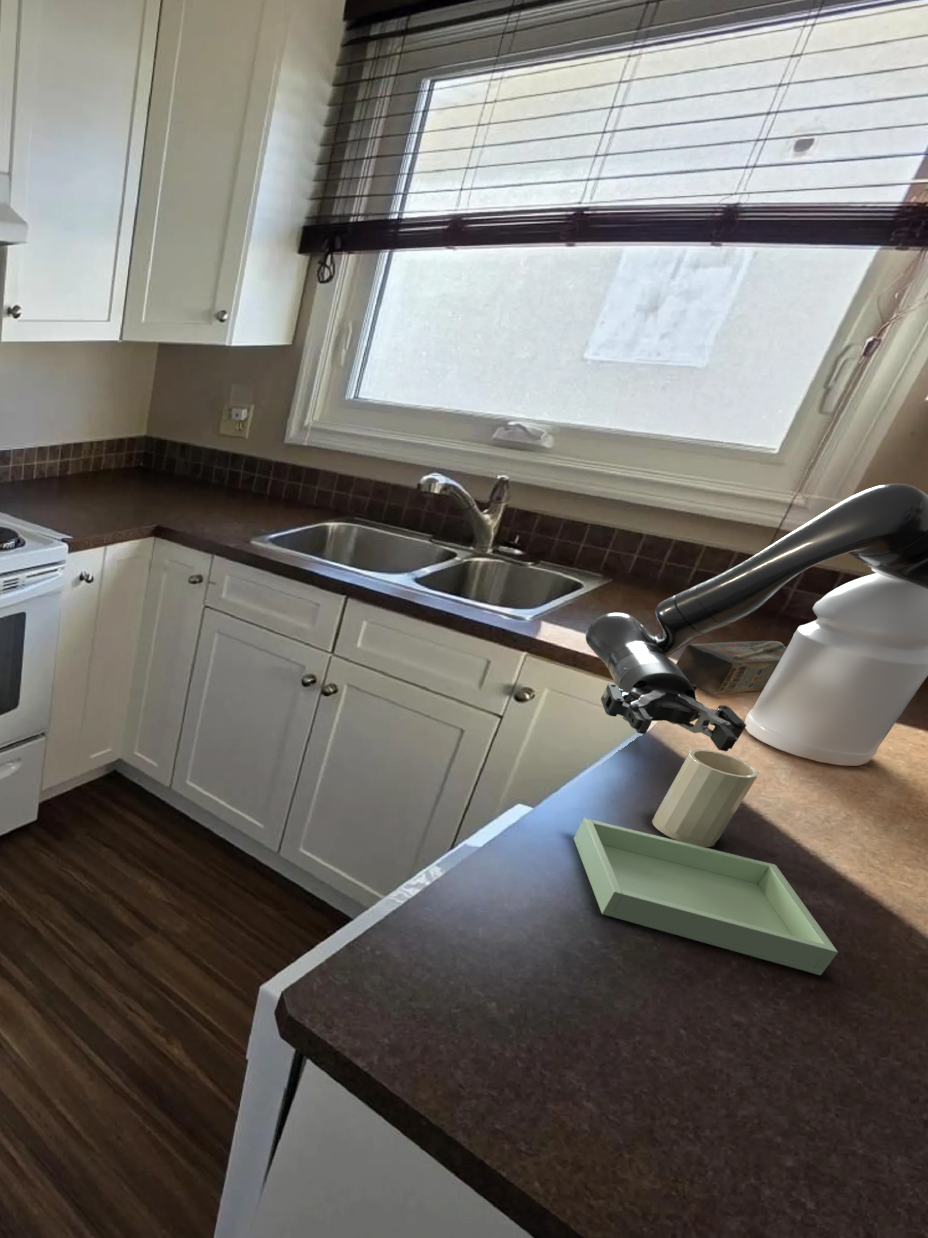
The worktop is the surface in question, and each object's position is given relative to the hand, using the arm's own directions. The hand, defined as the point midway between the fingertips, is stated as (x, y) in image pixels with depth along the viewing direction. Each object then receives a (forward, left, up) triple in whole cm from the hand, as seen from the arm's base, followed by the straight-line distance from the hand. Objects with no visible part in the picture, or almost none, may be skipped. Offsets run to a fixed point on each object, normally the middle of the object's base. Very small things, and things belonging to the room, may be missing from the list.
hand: (685, 736), depth 103 cm
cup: (0, +11, -8) cm, 13 cm away
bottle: (-24, -27, -8) cm, 37 cm away
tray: (+4, +27, -8) cm, 28 cm away
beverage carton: (-22, -49, -8) cm, 55 cm away
